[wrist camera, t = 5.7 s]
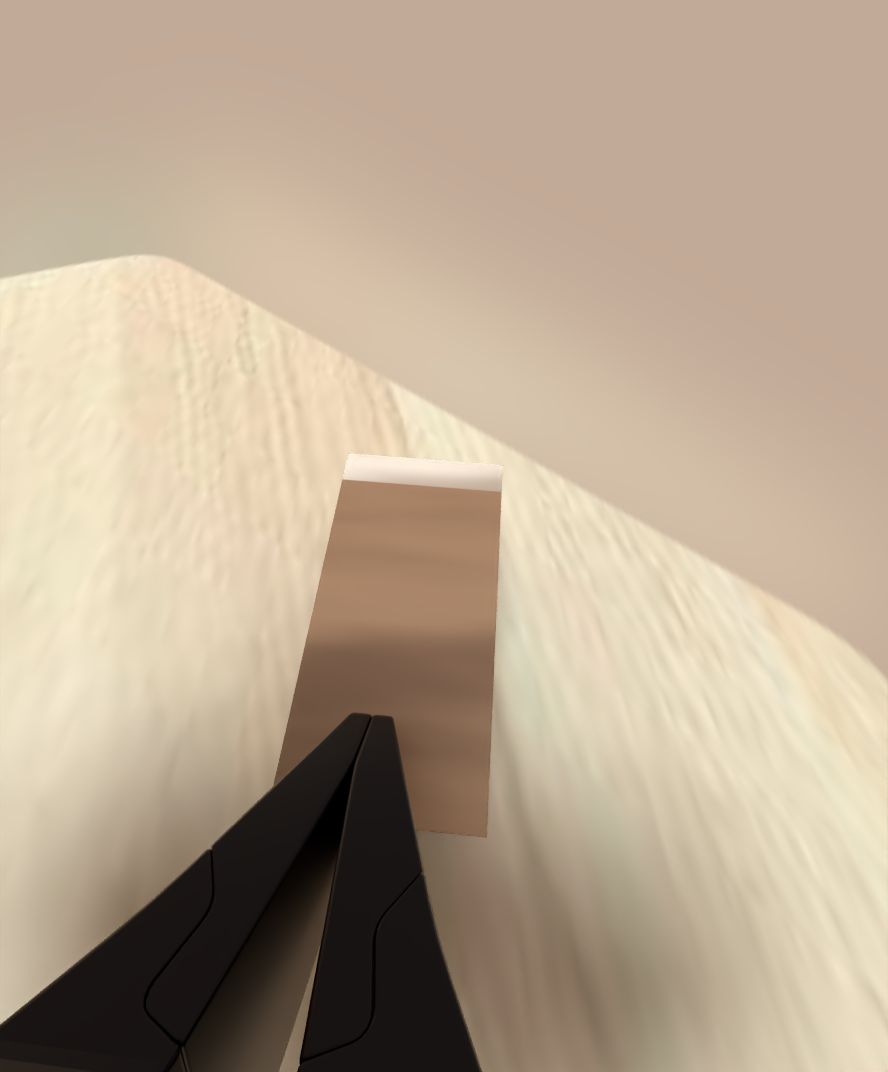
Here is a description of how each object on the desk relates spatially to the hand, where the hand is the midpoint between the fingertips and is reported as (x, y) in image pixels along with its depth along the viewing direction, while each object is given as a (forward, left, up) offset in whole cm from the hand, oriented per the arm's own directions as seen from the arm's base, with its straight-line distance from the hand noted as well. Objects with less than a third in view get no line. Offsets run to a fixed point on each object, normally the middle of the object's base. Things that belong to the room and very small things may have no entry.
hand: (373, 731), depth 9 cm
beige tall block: (0, -2, -5) cm, 5 cm away
